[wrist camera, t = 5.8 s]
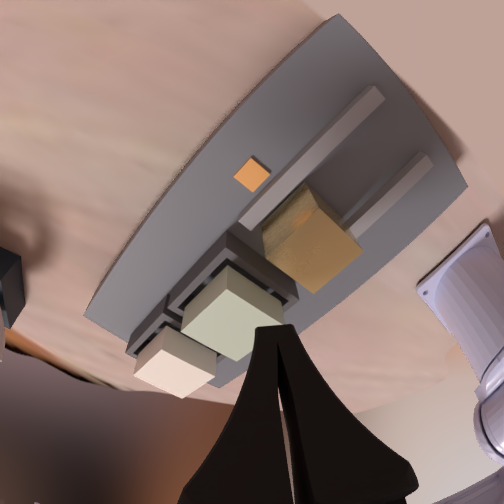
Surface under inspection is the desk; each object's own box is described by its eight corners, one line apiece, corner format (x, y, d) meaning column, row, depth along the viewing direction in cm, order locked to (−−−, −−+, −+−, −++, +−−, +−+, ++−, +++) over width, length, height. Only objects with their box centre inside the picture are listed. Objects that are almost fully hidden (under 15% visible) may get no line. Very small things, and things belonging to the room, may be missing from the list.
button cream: (216, 352, 18) (215, 376, 17) (184, 376, 20) (182, 398, 18) (166, 325, 17) (161, 349, 15) (138, 353, 18) (133, 375, 17)
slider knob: (344, 220, 15) (363, 251, 13) (302, 258, 16) (313, 294, 14) (304, 181, 14) (319, 208, 12) (260, 224, 15) (265, 258, 13)
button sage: (281, 301, 16) (285, 326, 15) (236, 337, 18) (236, 361, 16) (227, 264, 15) (226, 288, 13) (184, 307, 16) (180, 331, 15)
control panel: (446, 172, 17) (484, 198, 13) (220, 364, 25) (218, 405, 22) (324, 21, 12) (351, 6, 9) (94, 292, 21) (74, 333, 17)
